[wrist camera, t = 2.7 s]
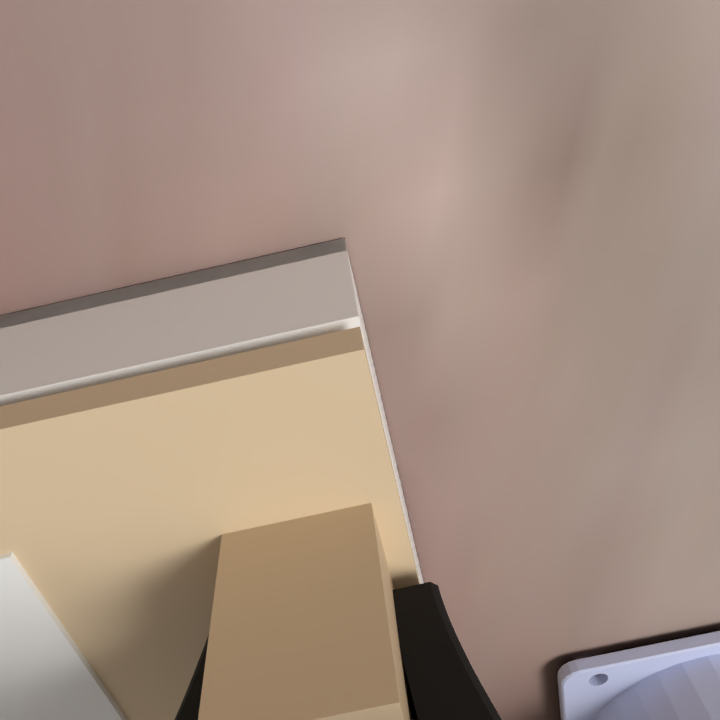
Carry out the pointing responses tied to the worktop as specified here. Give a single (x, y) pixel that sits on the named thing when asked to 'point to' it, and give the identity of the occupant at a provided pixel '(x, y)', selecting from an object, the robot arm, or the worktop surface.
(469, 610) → the worktop surface
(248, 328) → the box
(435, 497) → the worktop surface
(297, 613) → the lid
